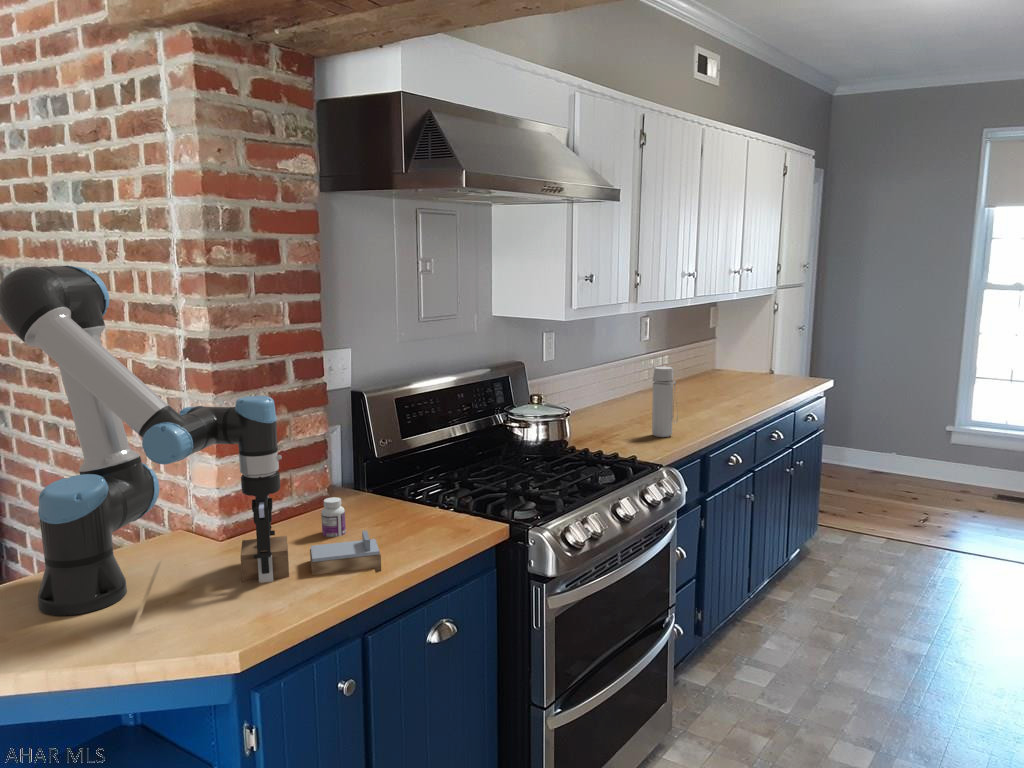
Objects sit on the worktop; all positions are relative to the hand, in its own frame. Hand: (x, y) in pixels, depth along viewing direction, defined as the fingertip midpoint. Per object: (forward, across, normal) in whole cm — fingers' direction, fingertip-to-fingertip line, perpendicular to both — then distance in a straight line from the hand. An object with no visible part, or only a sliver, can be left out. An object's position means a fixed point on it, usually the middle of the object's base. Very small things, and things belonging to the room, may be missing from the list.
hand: (267, 576), depth 163 cm
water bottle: (+1, +92, -138) cm, 166 cm away
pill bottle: (0, +19, -15) cm, 24 cm away
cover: (0, 0, 0) cm, 0 cm away
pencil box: (0, -1, -16) cm, 16 cm away
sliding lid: (-4, -1, -16) cm, 16 cm away
